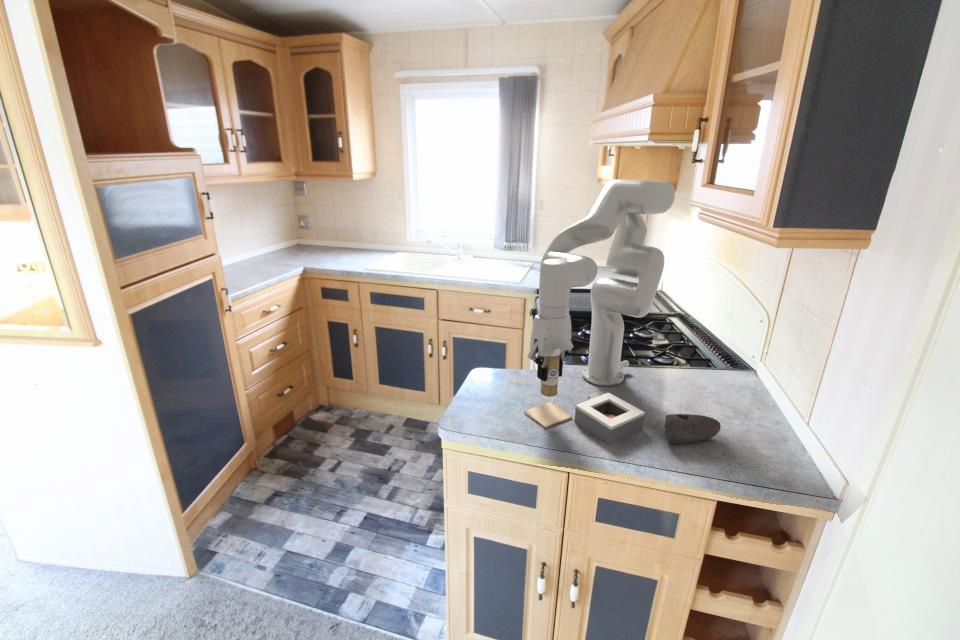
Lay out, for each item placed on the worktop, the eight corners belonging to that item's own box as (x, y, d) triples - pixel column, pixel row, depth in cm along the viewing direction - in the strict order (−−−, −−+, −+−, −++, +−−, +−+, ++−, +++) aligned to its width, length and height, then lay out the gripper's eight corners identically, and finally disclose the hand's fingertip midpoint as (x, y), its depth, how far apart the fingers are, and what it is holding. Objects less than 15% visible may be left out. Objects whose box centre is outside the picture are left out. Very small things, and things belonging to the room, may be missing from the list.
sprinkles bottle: (546, 399, 117) (549, 350, 113) (536, 391, 121) (539, 344, 117) (561, 395, 119) (564, 347, 115) (551, 387, 123) (554, 341, 118)
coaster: (549, 403, 129) (549, 401, 128) (571, 418, 121) (572, 416, 121) (524, 412, 124) (524, 410, 124) (545, 428, 117) (545, 426, 117)
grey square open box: (606, 408, 126) (608, 392, 124) (642, 429, 116) (644, 412, 115) (574, 421, 120) (575, 404, 118) (609, 444, 110) (611, 426, 109)
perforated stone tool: (712, 432, 115) (717, 408, 113) (724, 444, 110) (730, 419, 108) (654, 435, 114) (658, 411, 112) (664, 448, 109) (668, 423, 107)
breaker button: (607, 417, 121) (608, 412, 120) (621, 425, 117) (621, 420, 117) (595, 422, 119) (595, 417, 118) (608, 431, 115) (609, 425, 114)
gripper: (568, 300, 120) (564, 364, 126) (516, 311, 111) (514, 379, 117) (589, 308, 114) (583, 374, 120) (536, 320, 105) (532, 391, 111)
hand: (549, 376), depth 119 cm, fingers closed on sprinkles bottle, 4 cm apart
